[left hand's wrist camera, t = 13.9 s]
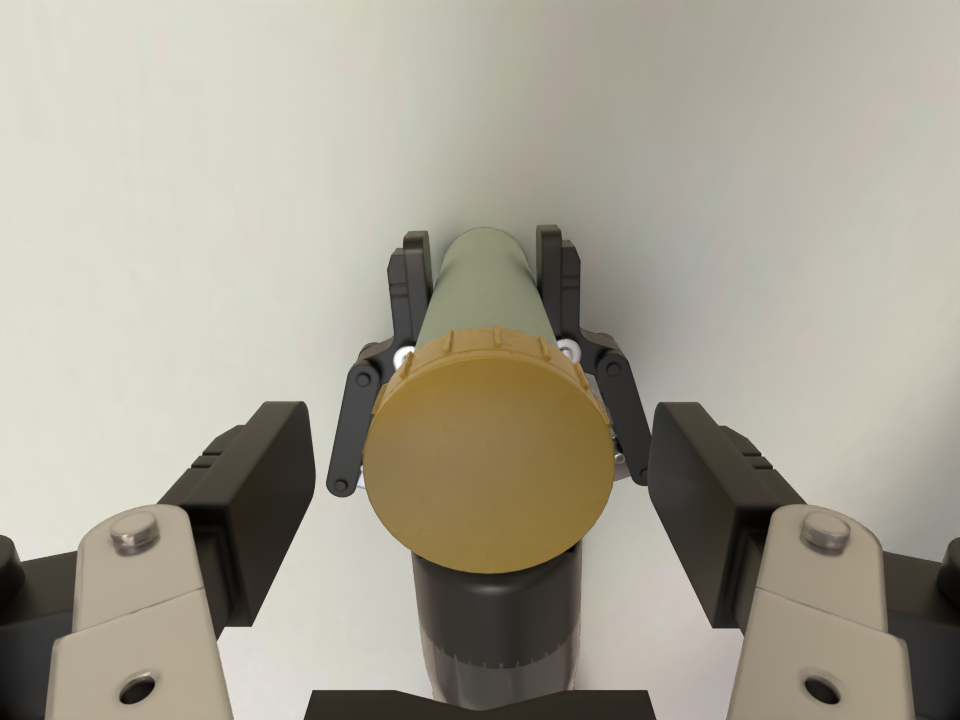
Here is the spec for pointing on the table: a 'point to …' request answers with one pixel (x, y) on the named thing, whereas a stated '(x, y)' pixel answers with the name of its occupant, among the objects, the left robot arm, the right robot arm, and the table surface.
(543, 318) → the pale green cylinder
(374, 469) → the lid
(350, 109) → the table surface
